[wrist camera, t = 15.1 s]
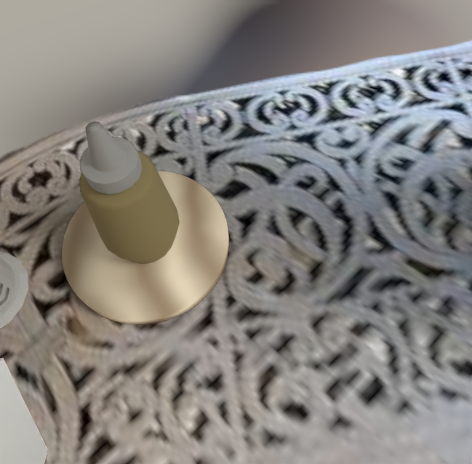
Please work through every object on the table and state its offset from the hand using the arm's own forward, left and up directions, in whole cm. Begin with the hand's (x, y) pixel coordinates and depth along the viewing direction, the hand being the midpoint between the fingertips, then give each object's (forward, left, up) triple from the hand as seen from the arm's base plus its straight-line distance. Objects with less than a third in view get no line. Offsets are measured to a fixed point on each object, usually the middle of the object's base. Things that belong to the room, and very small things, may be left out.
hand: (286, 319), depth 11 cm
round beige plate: (+6, -21, -33) cm, 39 cm away
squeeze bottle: (+6, -21, -31) cm, 38 cm away
